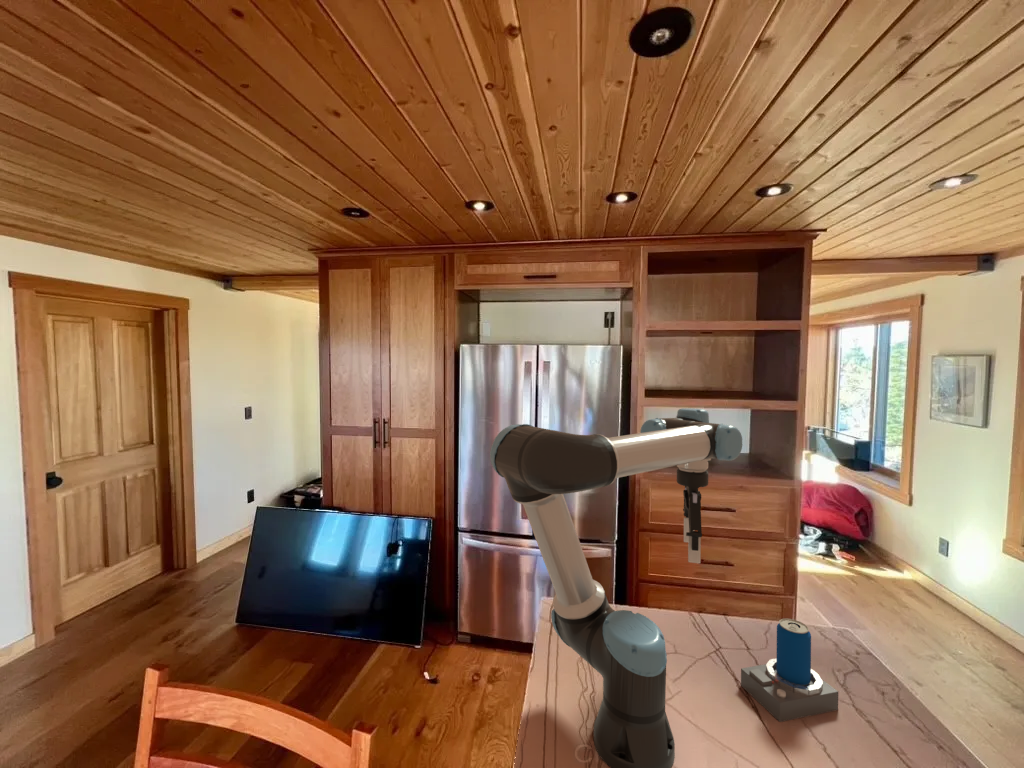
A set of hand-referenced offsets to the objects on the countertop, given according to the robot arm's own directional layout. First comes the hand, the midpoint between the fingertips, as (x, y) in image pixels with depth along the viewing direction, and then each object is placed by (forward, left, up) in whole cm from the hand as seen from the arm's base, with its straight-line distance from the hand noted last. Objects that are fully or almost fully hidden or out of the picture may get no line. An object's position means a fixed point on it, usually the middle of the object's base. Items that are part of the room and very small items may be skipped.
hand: (691, 551), depth 112 cm
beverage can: (+13, -18, -23) cm, 32 cm away
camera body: (+12, -18, -27) cm, 34 cm away
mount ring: (+14, -18, -23) cm, 32 cm away
